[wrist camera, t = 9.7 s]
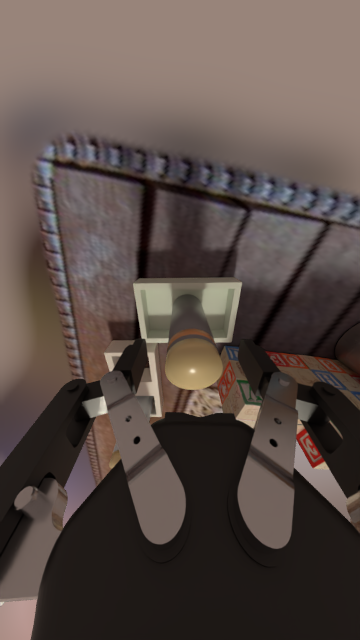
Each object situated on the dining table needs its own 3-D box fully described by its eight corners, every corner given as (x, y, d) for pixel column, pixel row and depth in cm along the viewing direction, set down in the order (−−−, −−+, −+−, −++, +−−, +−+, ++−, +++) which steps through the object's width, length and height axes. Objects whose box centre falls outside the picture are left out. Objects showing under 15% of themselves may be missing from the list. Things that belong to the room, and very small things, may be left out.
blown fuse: (202, 294, 19) (226, 346, 9) (201, 321, 21) (219, 389, 11) (171, 294, 19) (163, 347, 9) (172, 321, 21) (166, 389, 11)
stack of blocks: (212, 370, 26) (233, 464, 16) (223, 343, 23) (258, 438, 13) (323, 384, 28) (408, 477, 17) (347, 360, 25) (470, 457, 14)
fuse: (153, 383, 28) (138, 459, 18) (155, 397, 30) (142, 473, 20) (132, 383, 28) (105, 459, 18) (135, 397, 30) (112, 473, 20)
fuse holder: (157, 340, 23) (154, 352, 21) (163, 401, 30) (161, 416, 27) (112, 340, 23) (104, 352, 21) (129, 401, 30) (123, 416, 27)
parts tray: (234, 277, 19) (242, 282, 16) (225, 331, 22) (231, 342, 20) (139, 278, 19) (133, 283, 16) (146, 331, 23) (142, 342, 20)
